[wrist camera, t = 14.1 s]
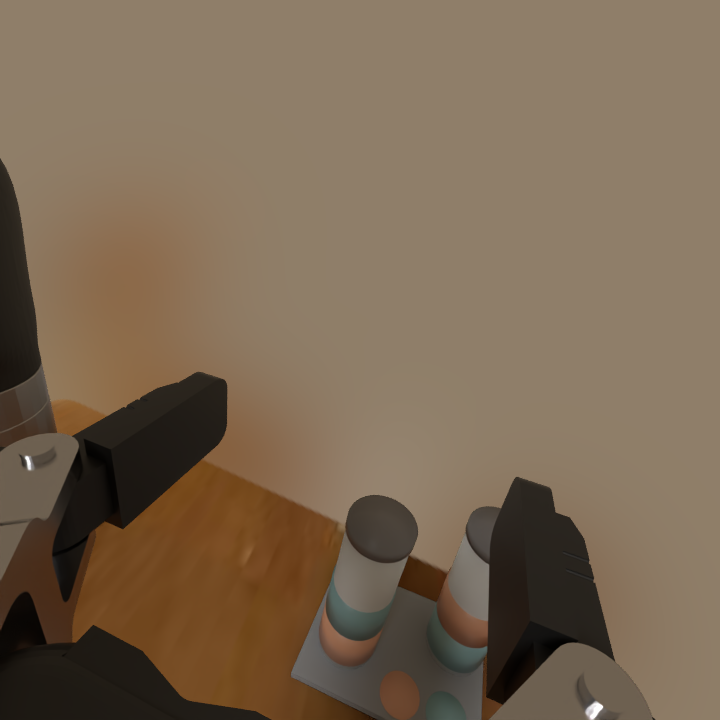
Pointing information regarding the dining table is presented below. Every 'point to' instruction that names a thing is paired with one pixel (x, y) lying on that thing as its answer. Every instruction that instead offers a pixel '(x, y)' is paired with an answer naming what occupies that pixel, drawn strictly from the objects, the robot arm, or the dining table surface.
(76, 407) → the dining table surface
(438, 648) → the twin tube
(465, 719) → the slate card
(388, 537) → the slim tube
